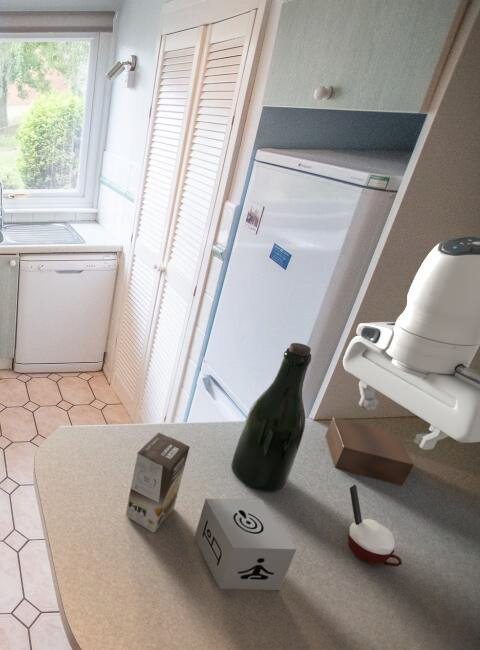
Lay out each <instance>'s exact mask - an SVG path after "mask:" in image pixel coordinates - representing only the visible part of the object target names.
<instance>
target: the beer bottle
mask: <svg viewBox="0 0 480 650" xmlns="http://www.w3.org/2000/svg"><path fill="white" fill-rule="evenodd" d="M311 350H312V348H311V347H310V346H308V345H306V344H304V343H300V342H292V343H290V344H289V347H287V348H286V349H285V351H284V352H283V356H282V360H281V362H280V363H281V364H280V366H279V368H278V370H277V373H276V375H275V377H274V379H273V381H272V382H271V384H270V385H269V386H268V387H267V388H266V389H265V391H264V392H262V393H261V394H260V395H259V396H258V397H257V398H256V399H255V401H254V402H253V403H252V405H251V407H250V409H249V411H248V413H247V415H246V418H245V421H244V424H243V427H242V430H241V432H240V436H239V439H238V441H237V444H236V447H235V451H234V454H233V457H232V461H231V465H230V466H231V470H232V473H233V474H234V476H235V477H236V478H237V480H239V481H240V482H241V483H243V484H244V485H246V486H248V487H249V488H251V489H254V490H257V491H259V492H264V493H277V492H280V491H281V490H283V489H284V488H285V487H286V485H287V482H288V480H289V477H290V475H291V472H292V468H293V466H294V463H295V460H296V457H297V454H298V452H299V448H300V445H301V442H302V439H303V436H304V432H305V428H306V411H305V406H304V398H303V388H304V381H305V378H306V374H307V371H308V368H309V365H310V364H311V362H312V353H311Z"/></svg>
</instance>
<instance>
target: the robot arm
mask: <svg viewBox="0 0 480 650" xmlns="http://www.w3.org/2000/svg"><path fill="white" fill-rule="evenodd" d="M406 298H407V299H406V300H407V301H406V306H405V309H404V310H403V312H402V313H401V314H400V315H399V316H398V317H397V319H396V321H377V322H376V321H374V322H373V321H371V322H363V323H359V324H358V325H357V327H356V330H355V332H356V335H357V336H356V335H355V337H353V338H352V339H351V340H350V342H349V344H348V346H347V348H346V350H345V353H344V356H343V357H342V358H343V359H342V365H343V368H344V370H345V372H347V373H349V374H351V375H352V376H354V377H355V378H357V379H358V380H359V382H358V389H359V394H360V399H359V402H358V405H359V406H360V407H361V408H363V409H364V410H366V411H375V410H376V409H377V408H378V405H379V403H380V400H378V399H377V398H376V393H375V392H376V391H377V392H379V393H380V394H382V395H384V396H385V397H387V398H388V399H390V400H391V401H393V402H395V403H397V404H398V405H399V406H401V407H403V408H404V409H406V410H408V411H409V412H411V413H412V414H414V415H415V416H416V417H418V418H420V419H422V420H423V421H425V422H426V423H428V424H430V426H429V428H428V430H429V431H430V433H428V432H426V433H416V435H415V437H414V439H413V441H412V442H413V444H415V445H416V446H417V447H419V448H420V449H422V450H423V451H424V450H425V451H428V450H432V449H434V448H435V446H436V444H437V442H438V441H441V440H443V439H446V438H448V437H450V438H451V439H453V440H455V441H457V442H458V443H462V444H464V443H465V444H466V443H468V444H469V443H472V444H473V443H480V373H479V372H478V371H476V370H474V369H472V368H470V365H471V363H472V361H473V359H474V357H475V355H476V353H477V351H478V349H479V348H480V236H472V235H471V236H470V235H469V236H458V237H452V238H449V239H445V240H442V241H440V242H439V243H437V244H436V246H433V248H432V250H431V251H430V252H429V253H428V254H427V256H426V257H425V259H424V260H423V262H422V263H421V265H420V267H419V268H418V271H417V272H416V274H415V276H414V278H413V281H412V283H411V285H410V287H409V290H408V292H407V297H406ZM375 390H376V391H375Z"/></svg>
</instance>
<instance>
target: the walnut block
mask: <svg viewBox="0 0 480 650" xmlns="http://www.w3.org/2000/svg"><path fill="white" fill-rule="evenodd" d="M324 438H325V440H326V441H325V442H326V444H327V447H328V450H329V454H330V456H331V459H332V463H333V466H334V468H335V469H338V470H343V471H346V472H349V473H354V474H356V475H361V476H365V477H369V478H372V479H376V480H380V481H383V482H387V483H391V484H394V485H398V486H402V487H404V484H405V483H406V481H407V478H408V477H409V475H410V473H411V471H412V469H413V467H414V462H413V460H412V459H411V457H410V454H409V453H408V452H407V450H406V447H405V446H404V444H403V442H402V441H401V438H400V437H399V435H398V433H397V431H395V430H390V429H386V428H381V427H377V426H373V425H369V424H365V423H360V422H356V421H351V420H347V419H342V418H338V417H335V416H334V417H333V416H332V418H331V421H330V424H329V426H328V429H327V431H326V433H325V436H324Z"/></svg>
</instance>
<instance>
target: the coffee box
mask: <svg viewBox="0 0 480 650" xmlns="http://www.w3.org/2000/svg"><path fill="white" fill-rule="evenodd" d="M190 448H191V446H189V445H188V444H186V443H183V442H182V441H180V440H177V439H176V438H173V437H171V436H168V435H166V434H164V433H161V432H157V433H156V434H155V435H154V436H153V437H152V438H150V440H149V441H148V442H147V443H146V444H145V445H143V446H142V447H141V449H140V450H138V451H137V455H136V459H135V465H134V470H133V474H132V478H131V479H132V480H131V484H130V490H129V494H128V500H127V505H126V510H125V514H124V515H125V516H126V517H128V518H129V519H131V520H132V521H133V522H136V523H137V524H138V525H140V526H141V527H143V528H145V529H146V530H148V531H150V532H151V533H156V532H157V531H158V529H159V528H160V527H161V525H162V524H163V523H164V521H165V520H166V519H167V518H168V516H169V515H170V514H171V512H173V510H174V509H175V506H176V502H177V498H178V495H179V494H178V493H179V490H180V486H181V482H182V479H183V474H184V471H185V467H186V463H187V459H188V455H189V451H190Z"/></svg>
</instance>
